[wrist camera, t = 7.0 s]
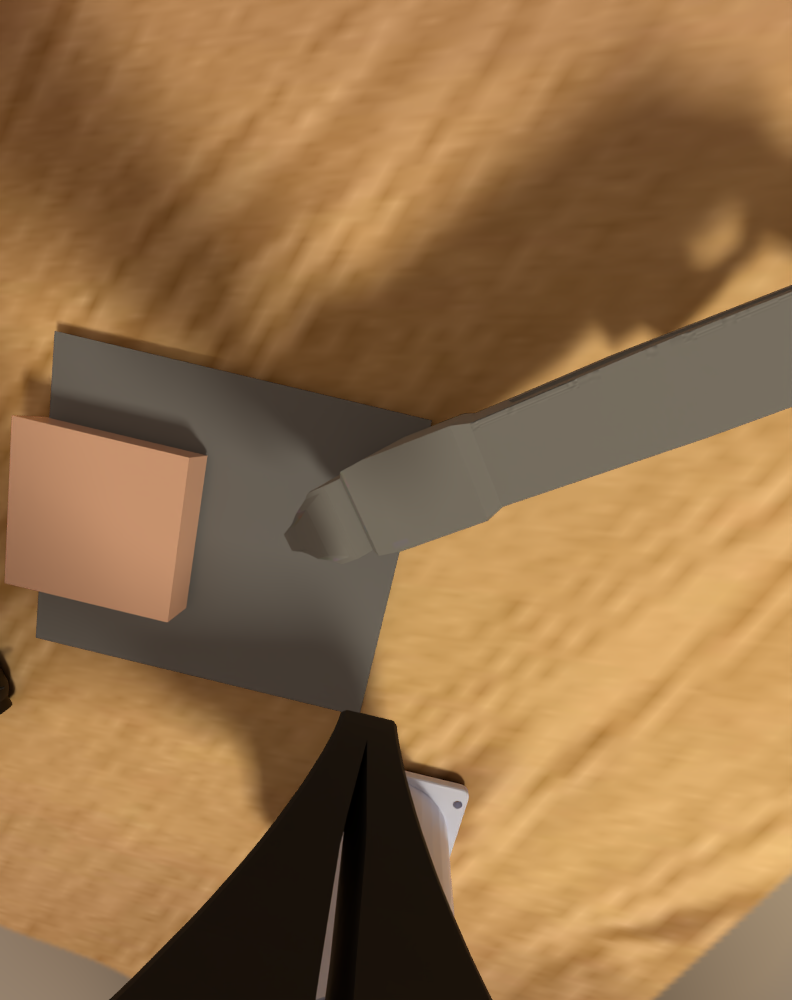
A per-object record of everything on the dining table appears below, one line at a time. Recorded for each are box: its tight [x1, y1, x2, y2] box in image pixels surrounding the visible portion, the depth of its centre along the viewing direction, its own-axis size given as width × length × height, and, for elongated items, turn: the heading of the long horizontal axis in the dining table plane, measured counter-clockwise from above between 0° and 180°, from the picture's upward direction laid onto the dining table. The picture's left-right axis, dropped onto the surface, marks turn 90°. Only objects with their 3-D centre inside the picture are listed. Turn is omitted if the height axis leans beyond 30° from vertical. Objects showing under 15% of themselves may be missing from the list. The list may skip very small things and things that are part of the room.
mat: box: [36, 331, 432, 713], centre depth 19 cm, size 16×18×1 cm
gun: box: [284, 285, 792, 564], centre depth 14 cm, size 3×25×15 cm, turn 113°
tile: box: [5, 415, 207, 622], centre depth 18 cm, size 8×2×8 cm
